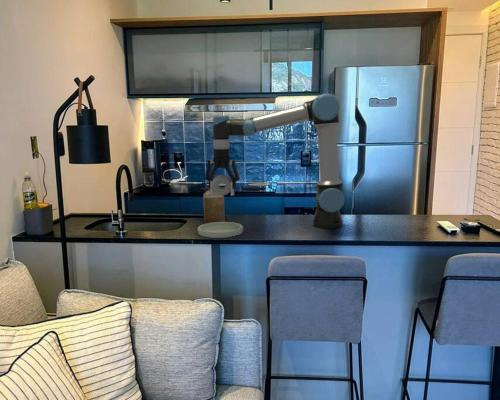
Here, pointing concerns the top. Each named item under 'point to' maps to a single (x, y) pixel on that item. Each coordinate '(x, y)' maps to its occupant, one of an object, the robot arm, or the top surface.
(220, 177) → the donut
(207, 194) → the milk carton
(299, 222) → the top surface
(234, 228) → the plate
